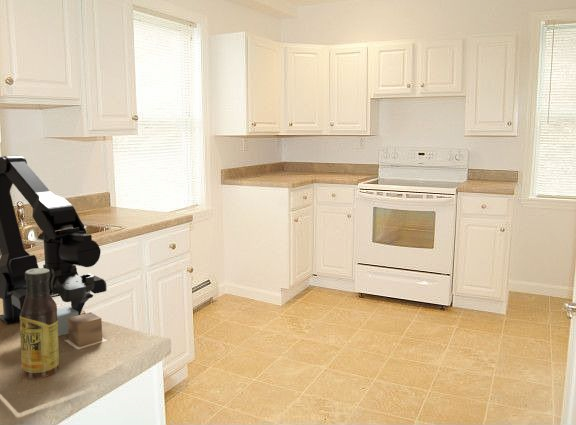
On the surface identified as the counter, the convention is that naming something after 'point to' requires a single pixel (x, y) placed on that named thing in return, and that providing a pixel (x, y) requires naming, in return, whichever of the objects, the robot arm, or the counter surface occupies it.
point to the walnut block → (85, 329)
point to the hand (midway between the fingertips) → (63, 328)
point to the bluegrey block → (64, 319)
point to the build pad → (83, 346)
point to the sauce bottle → (39, 327)
